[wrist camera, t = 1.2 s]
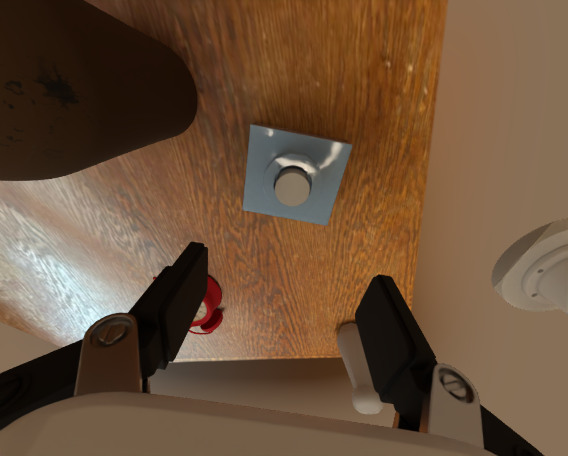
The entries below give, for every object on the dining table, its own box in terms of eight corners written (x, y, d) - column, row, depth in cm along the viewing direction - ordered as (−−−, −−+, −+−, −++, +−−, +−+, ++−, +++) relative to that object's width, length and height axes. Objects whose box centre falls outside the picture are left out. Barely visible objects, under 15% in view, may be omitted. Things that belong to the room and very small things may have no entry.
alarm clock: (205, 276, 33) (219, 356, 37) (219, 259, 39) (231, 329, 43) (139, 278, 34) (161, 355, 38) (164, 261, 40) (180, 329, 44)
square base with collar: (346, 140, 26) (356, 147, 22) (324, 214, 31) (328, 232, 27) (255, 122, 26) (247, 125, 21) (247, 200, 30) (239, 216, 26)
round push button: (312, 171, 23) (313, 176, 22) (304, 201, 25) (305, 209, 23) (279, 164, 23) (277, 169, 22) (274, 196, 25) (272, 203, 23)
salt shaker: (346, 342, 45) (363, 423, 33) (329, 328, 43) (340, 408, 32) (371, 330, 43) (398, 412, 31) (354, 315, 41) (376, 396, 29)
